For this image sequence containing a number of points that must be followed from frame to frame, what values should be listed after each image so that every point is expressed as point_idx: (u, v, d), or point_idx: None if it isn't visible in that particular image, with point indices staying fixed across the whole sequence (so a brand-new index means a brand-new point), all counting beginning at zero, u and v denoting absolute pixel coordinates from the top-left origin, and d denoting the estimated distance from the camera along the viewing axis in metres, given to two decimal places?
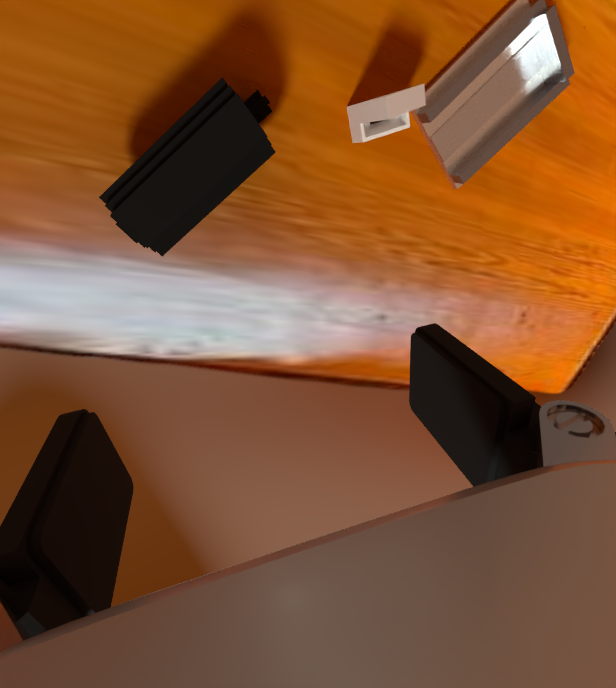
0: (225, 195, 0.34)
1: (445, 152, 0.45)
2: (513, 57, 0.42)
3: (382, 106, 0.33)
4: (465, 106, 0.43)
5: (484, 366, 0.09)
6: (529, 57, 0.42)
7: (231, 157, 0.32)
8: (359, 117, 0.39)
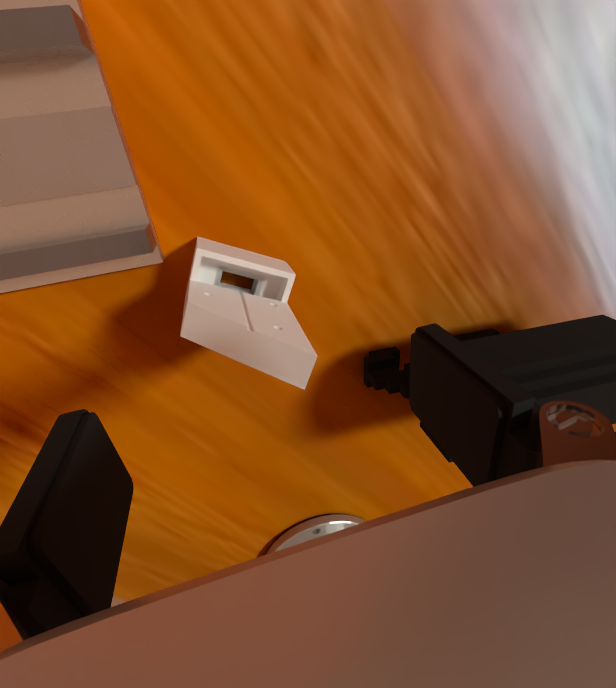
0: (550, 361, 0.23)
1: (102, 128, 0.18)
2: None
3: None
4: (27, 195, 0.18)
5: (484, 366, 0.09)
6: None
7: None
8: None
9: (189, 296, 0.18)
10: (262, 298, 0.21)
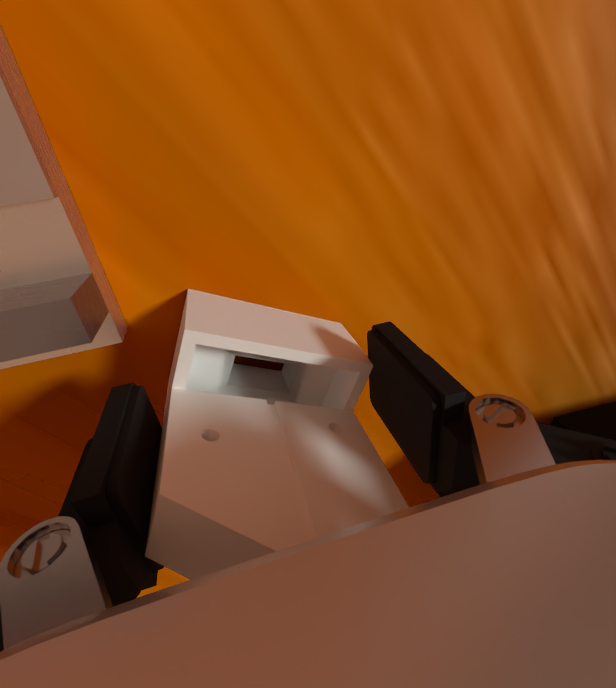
0: None
1: None
2: None
3: None
4: None
5: (425, 362, 0.09)
6: None
7: None
8: None
9: (166, 462, 0.08)
10: (311, 411, 0.11)
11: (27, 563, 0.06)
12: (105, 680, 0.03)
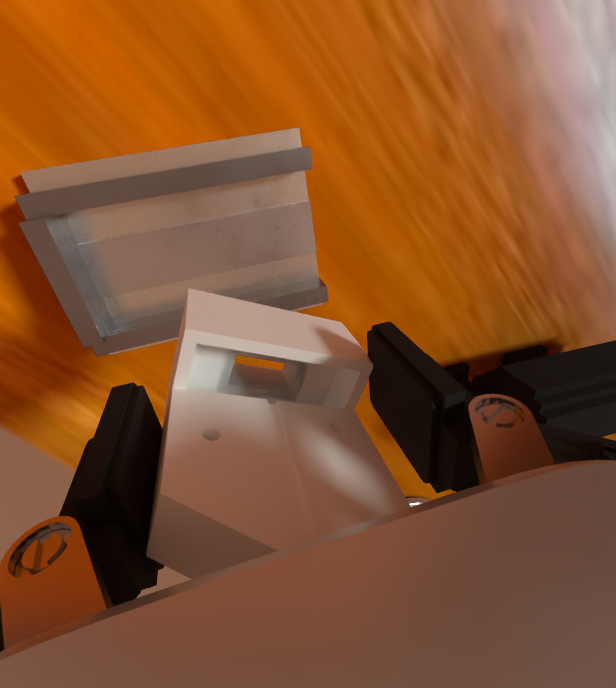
0: (600, 377, 0.29)
1: (301, 215, 0.25)
2: (140, 289, 0.24)
3: None
4: (244, 263, 0.25)
5: (425, 362, 0.09)
6: (105, 275, 0.23)
7: (583, 415, 0.28)
8: None
9: (167, 462, 0.08)
10: (312, 410, 0.11)
11: (28, 563, 0.06)
12: (105, 680, 0.03)
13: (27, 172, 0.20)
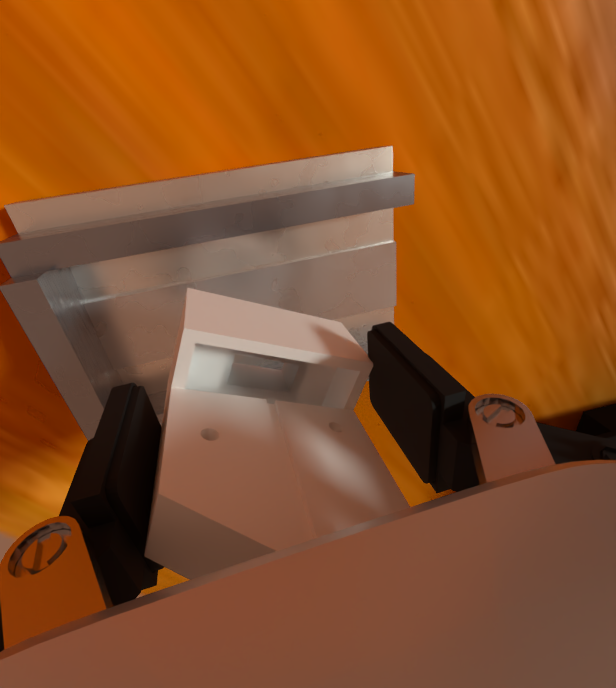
0: None
1: (383, 260, 0.18)
2: (167, 356, 0.18)
3: None
4: None
5: (425, 362, 0.09)
6: (122, 340, 0.17)
7: None
8: None
9: (165, 462, 0.08)
10: (311, 410, 0.11)
11: (27, 563, 0.06)
12: (105, 679, 0.03)
13: (14, 205, 0.14)
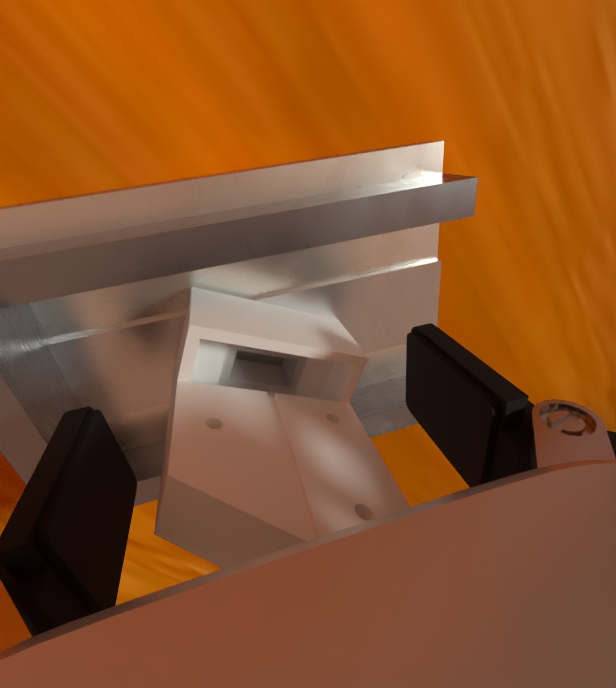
0: None
1: (424, 283, 0.15)
2: (157, 404, 0.14)
3: None
4: None
5: (478, 365, 0.09)
6: (99, 387, 0.13)
7: None
8: None
9: (173, 447, 0.08)
10: (309, 402, 0.12)
11: None
12: (105, 680, 0.03)
13: None
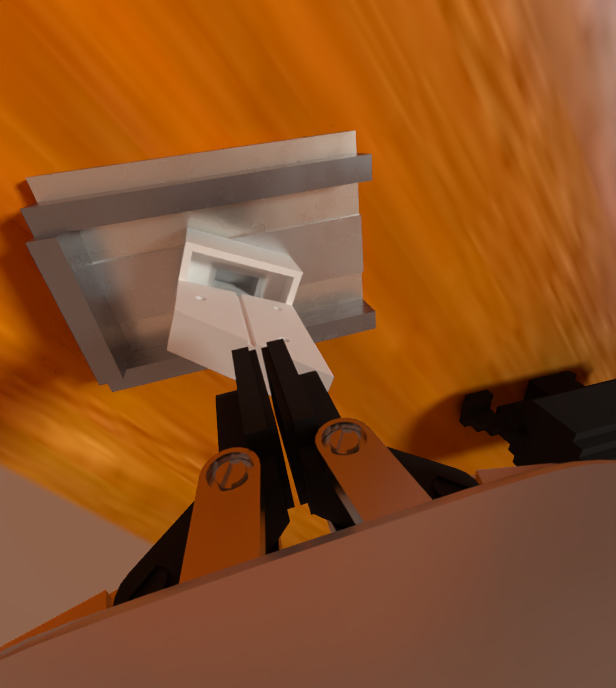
0: None
1: (350, 231, 0.21)
2: (164, 313, 0.21)
3: None
4: None
5: (293, 383, 0.09)
6: (124, 298, 0.20)
7: None
8: None
9: (177, 302, 0.15)
10: (264, 300, 0.18)
11: (220, 482, 0.07)
12: (105, 679, 0.03)
13: (34, 178, 0.17)
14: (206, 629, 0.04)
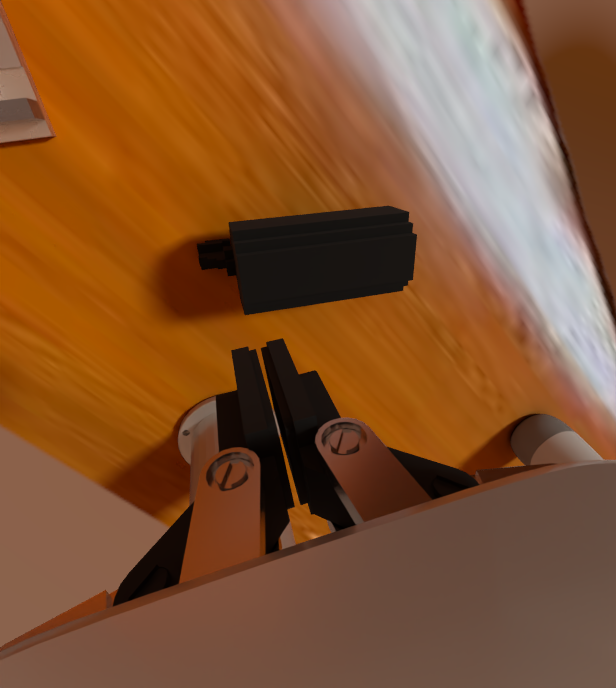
0: (310, 225, 0.28)
1: None
2: None
3: None
4: None
5: (293, 383, 0.09)
6: None
7: (285, 259, 0.28)
8: None
9: None
10: None
11: (220, 482, 0.07)
12: (105, 679, 0.03)
13: None
14: (206, 629, 0.04)
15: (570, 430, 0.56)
